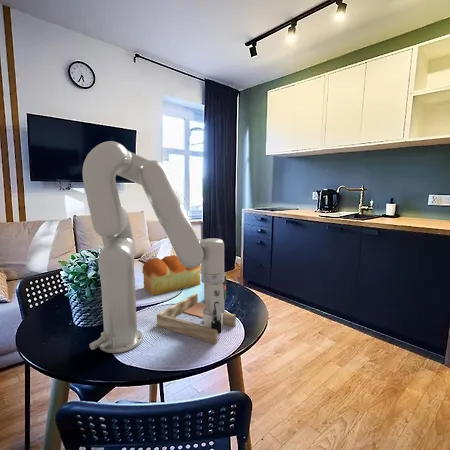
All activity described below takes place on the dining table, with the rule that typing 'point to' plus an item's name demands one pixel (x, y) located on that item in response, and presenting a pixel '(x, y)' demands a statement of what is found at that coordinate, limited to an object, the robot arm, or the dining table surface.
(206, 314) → the shot glass
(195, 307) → the pad
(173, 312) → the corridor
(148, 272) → the bread
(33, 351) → the dining table surface
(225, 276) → the canned tomato
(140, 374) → the dining table surface
